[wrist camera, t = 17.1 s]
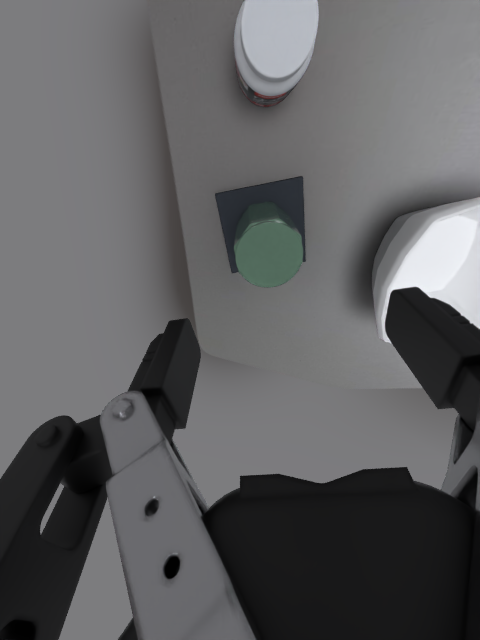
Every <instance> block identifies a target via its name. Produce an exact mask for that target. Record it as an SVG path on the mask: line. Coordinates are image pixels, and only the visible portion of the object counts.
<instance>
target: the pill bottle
mask: <svg viewBox="0 0 480 640" xmlns="http://www.w3.org/2000/svg"><path fill="white" fill-rule="evenodd" d="M318 19H319V11H318V2H317V0H244V2H243V4H242V6H241V8H240V10H239V13H238V16H237V20H236V25H235V32H234V54H235V63H236V73H237V78H238V82H239V85H240V87H241V89H242V91H243V93H244V94H245V96H246V97H247V98H248V99H249V100H250V101H251V102H252V103H254V104H256V105H258V106H263V107H269V106H273V105H275V104H277V103H279V102H281V101H282V100H283V99H284V98H286V96H287V95H288V94H289V93H290V92H291V91H292V89H293V88H294V87H295V86H296V85H297V83H298V82H299V81H300V79H301V78H302V77H303V75H304V73H305V72H306V70H307V67H308V65H309V63H310V60H311V57H312V54H313V50H314V45H315V38H316V34H317V29H318Z"/></svg>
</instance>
